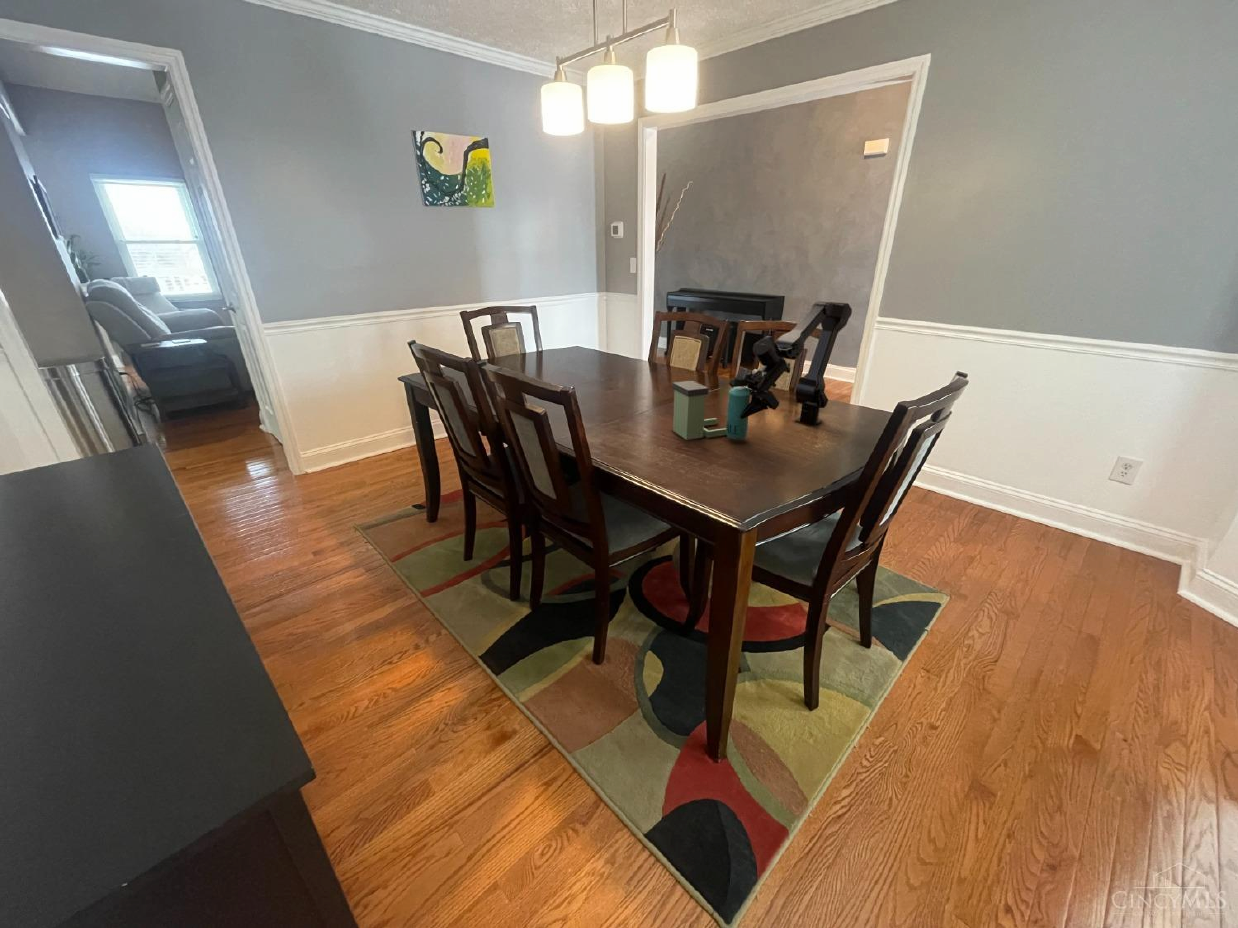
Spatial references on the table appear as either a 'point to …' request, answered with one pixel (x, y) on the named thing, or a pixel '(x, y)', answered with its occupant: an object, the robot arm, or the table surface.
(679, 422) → the drink station
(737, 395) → the beverage bottle
